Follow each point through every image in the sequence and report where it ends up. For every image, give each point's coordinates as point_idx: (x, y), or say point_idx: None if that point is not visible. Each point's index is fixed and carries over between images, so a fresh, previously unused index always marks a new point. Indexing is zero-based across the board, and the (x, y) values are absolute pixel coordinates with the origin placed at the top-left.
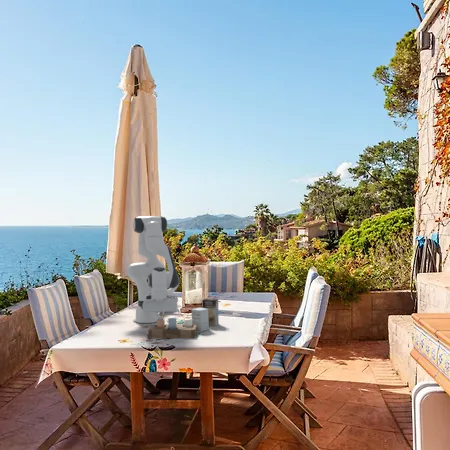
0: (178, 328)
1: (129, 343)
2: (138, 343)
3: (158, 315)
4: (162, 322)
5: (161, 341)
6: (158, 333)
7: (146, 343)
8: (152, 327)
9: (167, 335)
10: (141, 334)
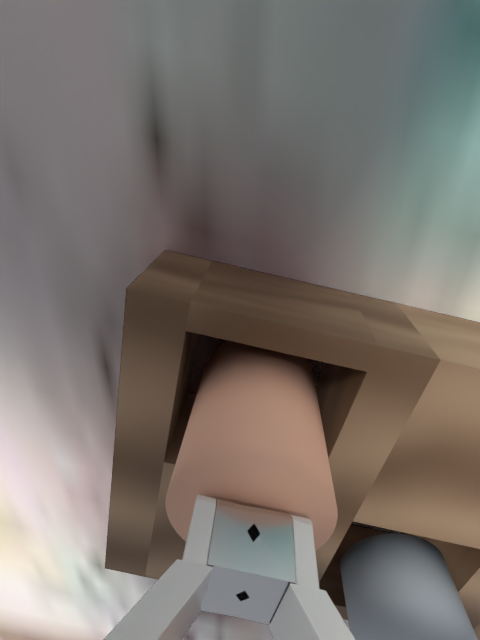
0: (467, 592)
1: (17, 569)
2: (83, 584)
3: (186, 620)
4: None
5: None
6: None
7: None
8: (133, 460)
9: None
10: (23, 310)
